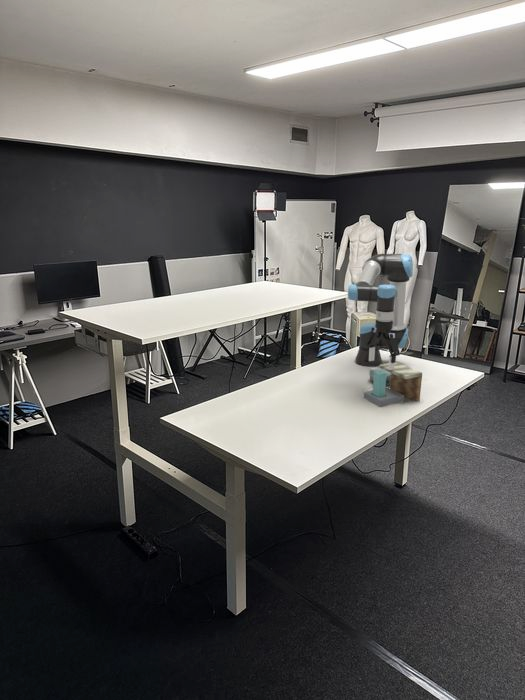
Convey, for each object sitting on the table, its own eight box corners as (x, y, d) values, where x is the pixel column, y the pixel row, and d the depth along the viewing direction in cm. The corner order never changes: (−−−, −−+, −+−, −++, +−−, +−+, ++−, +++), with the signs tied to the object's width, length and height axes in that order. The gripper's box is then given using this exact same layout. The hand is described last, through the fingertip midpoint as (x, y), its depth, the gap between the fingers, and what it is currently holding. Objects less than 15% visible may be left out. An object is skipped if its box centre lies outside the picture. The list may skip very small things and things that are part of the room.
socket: (363, 397, 225) (363, 392, 224) (386, 392, 231) (386, 387, 230) (380, 406, 215) (380, 400, 214) (403, 401, 221) (404, 395, 220)
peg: (372, 400, 222) (374, 371, 218) (378, 398, 224) (380, 370, 220) (377, 403, 219) (379, 374, 215) (384, 401, 221) (386, 373, 217)
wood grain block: (377, 391, 232) (379, 364, 228) (393, 388, 236) (395, 361, 232) (403, 404, 217) (405, 376, 213) (419, 400, 221) (422, 372, 217)
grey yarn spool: (401, 378, 241) (393, 363, 238) (390, 390, 237) (382, 374, 234) (381, 377, 253) (373, 362, 249) (371, 388, 248) (362, 373, 245)
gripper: (359, 315, 219) (357, 358, 226) (397, 327, 198) (393, 374, 204) (372, 313, 223) (370, 356, 229) (410, 325, 201) (406, 371, 208)
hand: (381, 364), depth 217 cm, fingers open, 13 cm apart
